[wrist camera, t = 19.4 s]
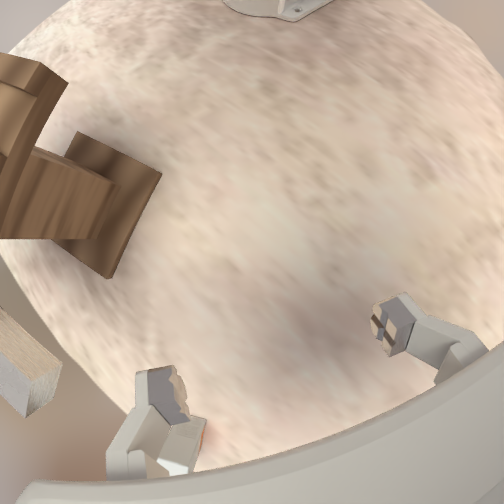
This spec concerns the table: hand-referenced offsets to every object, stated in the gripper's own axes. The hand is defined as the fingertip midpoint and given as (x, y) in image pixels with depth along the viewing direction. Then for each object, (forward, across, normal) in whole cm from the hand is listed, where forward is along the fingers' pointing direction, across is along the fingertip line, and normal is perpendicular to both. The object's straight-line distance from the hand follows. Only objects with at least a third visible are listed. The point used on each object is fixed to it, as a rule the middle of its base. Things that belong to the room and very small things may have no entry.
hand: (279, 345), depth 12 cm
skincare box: (+15, +12, +34) cm, 39 cm away
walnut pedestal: (+35, +17, +4) cm, 39 cm away
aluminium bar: (+10, +22, -3) cm, 24 cm away
